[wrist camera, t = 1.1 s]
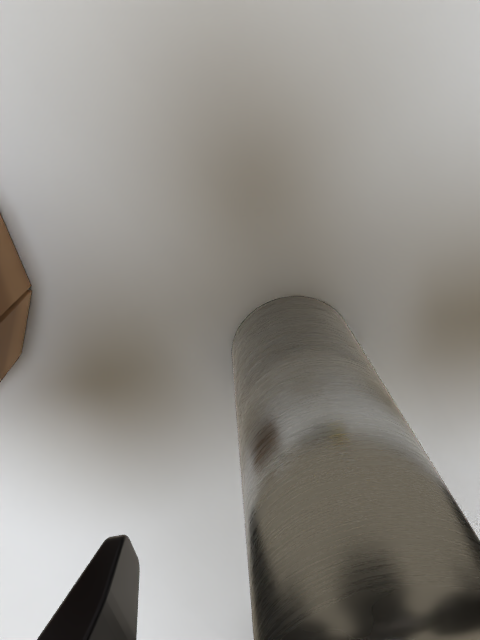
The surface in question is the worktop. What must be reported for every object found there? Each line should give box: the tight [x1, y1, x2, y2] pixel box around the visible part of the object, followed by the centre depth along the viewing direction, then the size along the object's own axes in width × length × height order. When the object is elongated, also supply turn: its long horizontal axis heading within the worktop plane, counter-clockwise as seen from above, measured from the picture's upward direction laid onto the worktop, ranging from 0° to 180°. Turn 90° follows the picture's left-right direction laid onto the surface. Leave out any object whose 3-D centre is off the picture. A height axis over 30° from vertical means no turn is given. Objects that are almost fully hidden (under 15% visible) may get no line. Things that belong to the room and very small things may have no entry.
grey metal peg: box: [232, 296, 480, 640], centre depth 10 cm, size 4×4×9 cm
